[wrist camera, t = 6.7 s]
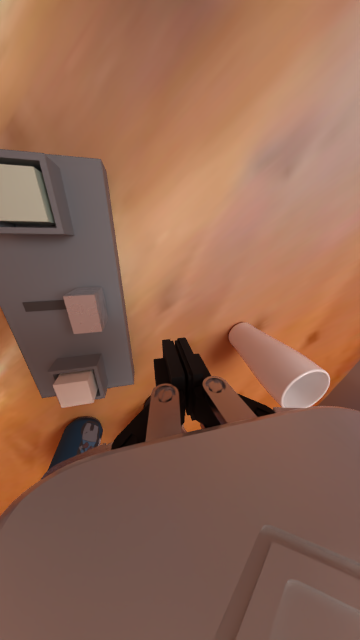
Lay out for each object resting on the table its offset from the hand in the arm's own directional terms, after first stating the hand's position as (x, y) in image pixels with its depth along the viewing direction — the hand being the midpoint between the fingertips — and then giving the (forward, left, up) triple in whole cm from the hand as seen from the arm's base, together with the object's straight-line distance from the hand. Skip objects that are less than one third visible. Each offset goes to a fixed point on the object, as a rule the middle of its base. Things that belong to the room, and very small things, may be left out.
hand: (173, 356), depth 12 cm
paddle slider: (0, -8, -13) cm, 15 cm away
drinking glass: (+9, +16, -17) cm, 25 cm away
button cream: (+11, -12, -12) cm, 20 cm away
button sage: (-11, -12, -13) cm, 21 cm away
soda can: (+27, -16, -17) cm, 35 cm away
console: (0, -12, -16) cm, 20 cm away
